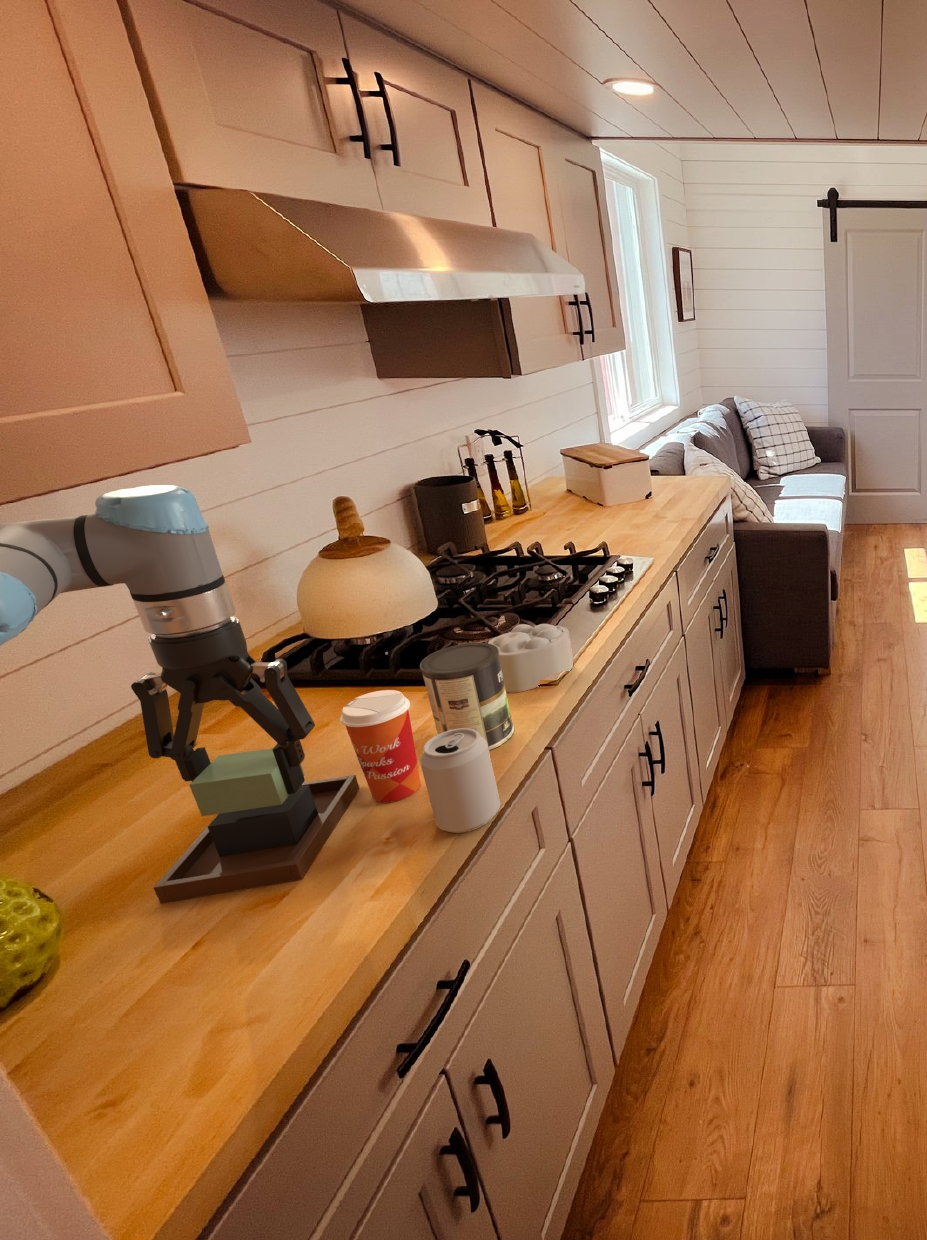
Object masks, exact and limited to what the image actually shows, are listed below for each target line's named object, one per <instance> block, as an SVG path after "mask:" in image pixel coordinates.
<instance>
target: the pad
mask: <svg viewBox="0 0 927 1240" xmlns="http://www.w3.org/2000/svg"><path fill="white" fill-rule="evenodd" d="M273 748H274V747H272V748H265V749H258V750H256V749H255V750H250V751H242V752H234V753H226V754H220V755H219V754H218V755H217V756H216V757H215V758H214V759H213V760H212V761H210V762H211V763H210V764H209V765H208V766H207V768H206V769H205V770H204V771H203V772H202V773H201V774H200V775H199V776H197V777H196V779H195V780H194V781H193V782H192V781H191V783H189V784H188V785H189V788H190V790H191V793H192V795H193V798H194V800H195V804H196V806H197V809H198V810H199V812H200V815H201V817H207V816H214V815H218V814H221V813H228V812H235V811H241V810H248V809H255V808H262V807H268V806H275V805H282V804H283V802H284V801H285V800H286V798H287V797H288V796H289V795H290V794H288V793H287V790H286V787H285V784H284V781H283V778H282V776H281V773H280V770H279V767H278V765H277V762H276V759H275V756H274V753H273V750H272V749H273ZM300 767H301V770H302V773H303V776H304V777H305V773H304V769H303V766H302V763H301V764H300Z"/></svg>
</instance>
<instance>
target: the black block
mask: <svg viewBox="0 0 927 1240" xmlns="http://www.w3.org/2000/svg"><path fill="white" fill-rule="evenodd" d="M317 814H318V812H317V809H316V806H315V802H314V799H313V796H312V793H311V790H310V787H309V785H306V786H300V787H299V789H298V790H297V791H296V793H294V794H290V795H289V796H288V797H287V798H286V800H285V801H284V802H283V804H282V805H275V806H268V807H262V808H255V809H248V810H241V811H235V812H228V813H221V814H216V816H215V817H216V818H215V817H214V818H215V819H214V818H213V819H214V820H213V819H212V820H213V821H212V820H211V821H210V823H209V824H208V825H209V826H208V825H207V826H208V829H209V832H210V834H211V837H212V839H213V842H214V845H215V847H216V850H217V852H218V855H219V857H220V856H227V855H233V854H239V853H245V852H252V851H258V850H264V849H271V848H277V847H283V846H289V845H296V844H298V842H299V841H300V839H301V838H302V836H303V835H304V833H305V832H306V830H307V829H308V827H309V826H310V825H311V823H312V822H313V820H314V819H315V817H316V816H317Z"/></svg>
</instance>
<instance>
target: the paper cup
mask: <svg viewBox="0 0 927 1240" xmlns="http://www.w3.org/2000/svg"><path fill="white" fill-rule="evenodd" d="M410 708H411V702H410V699H408V698H407V697H406V696H404V694H403V693H402V692H401V691H399V690H395V689H384V690H376V691H372V692H368V693H364V694H361V695H359V696H357V697H355V698H354V699H353V700H350V702H348V703H347V704H346V705H345V706H343V708H342V710H341V715H340V719H339V721H340V723H341V724H342V725H343V726H344V727H345V729H346V731H347V734H348V737H349V739H350V742H351V744H352V748H353V750H354V753H355V755H356V757H357V761H358V762H359V765H360V768H361V771H362V774H363V776H364V778H365V780H366V783H367V786H368V789H369V791H370V794H371V795H372V797H373V799H374V801H376V802H378V803H380V804H381V803H383V804H387V803H395V802H399V801H401V800H404V799H406V798H408V797H410V796H411V795H413V794H415V793H416V792H417V791H418V790H419V789H420V787H421V775H420V769H419V762H418V756H417V752H416V745H415V740H414V734H413V733H414V732H413V728H412V723H411V717H410V711H409V710H410Z"/></svg>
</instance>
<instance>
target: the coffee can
mask: <svg viewBox="0 0 927 1240" xmlns="http://www.w3.org/2000/svg"><path fill="white" fill-rule="evenodd" d="M419 670H420V672H421V673H422V677H423V681H424V685H425V689H426V692H427V698H428V702H429V705H430V708H431V709H430V710H431V713H432V717H433V721H434V725H435V728H436V733H437V735H438V734H441V733H443V732H446V731H449V730H453V729H460V728H469V729H474V730H476V731H477V732H479V735H480V736H481V737H482V738H484V739H485V740H486V742H487V744H488V749H489V751H491V750H494V749H496V748H498V747H500V746H501V745H503V744H505V743H506V742H507V741H508V740H509V739H511V737H512V736H513V734H514V732H515V726H514V723H513V719H512V714H511V709H510V706H509V701H508V700H509V699H508V695H507V692H506V689H505V684H504V679H503V675H502V670H501V665H500V660H499V650H498V648H497V647H496V646H494V645H492V644H488V642H465V643H461V644H455V645H451V646H447V647H445V648H441V649H439V650H437V651H434V652H433V653H430V654H428V655H427V656H426V657H424V658H423V659H422V661H420V664H419Z"/></svg>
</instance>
